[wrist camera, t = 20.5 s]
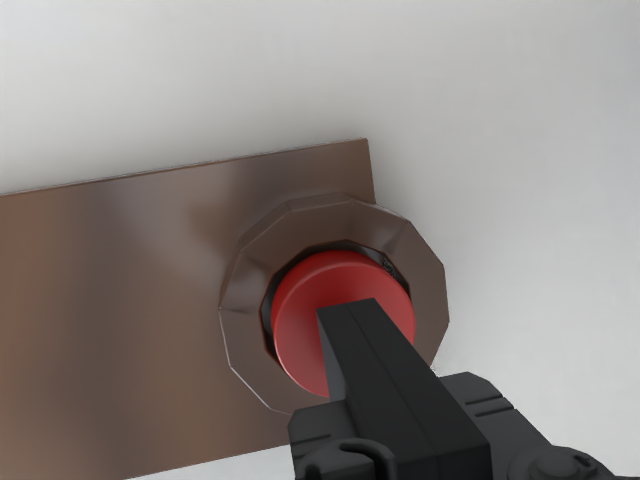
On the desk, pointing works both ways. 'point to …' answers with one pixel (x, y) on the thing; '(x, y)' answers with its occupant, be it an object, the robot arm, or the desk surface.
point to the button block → (177, 307)
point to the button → (325, 290)
